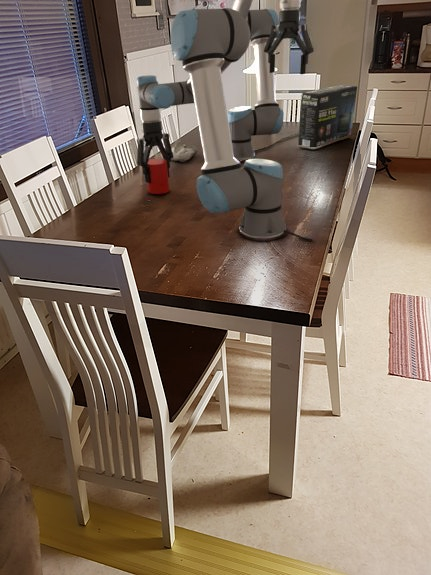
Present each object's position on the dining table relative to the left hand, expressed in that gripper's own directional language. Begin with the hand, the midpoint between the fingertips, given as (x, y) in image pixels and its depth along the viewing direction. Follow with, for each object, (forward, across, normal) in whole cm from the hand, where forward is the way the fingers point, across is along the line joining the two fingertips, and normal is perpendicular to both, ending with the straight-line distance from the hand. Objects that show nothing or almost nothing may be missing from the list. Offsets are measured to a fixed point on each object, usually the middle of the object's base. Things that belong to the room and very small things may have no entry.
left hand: (287, 73), depth 178 cm
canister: (+40, -32, -44) cm, 68 cm away
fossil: (+41, -59, -2) cm, 72 cm away
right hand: (+35, -32, -44) cm, 65 cm away
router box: (+41, -9, +60) cm, 73 cm away
